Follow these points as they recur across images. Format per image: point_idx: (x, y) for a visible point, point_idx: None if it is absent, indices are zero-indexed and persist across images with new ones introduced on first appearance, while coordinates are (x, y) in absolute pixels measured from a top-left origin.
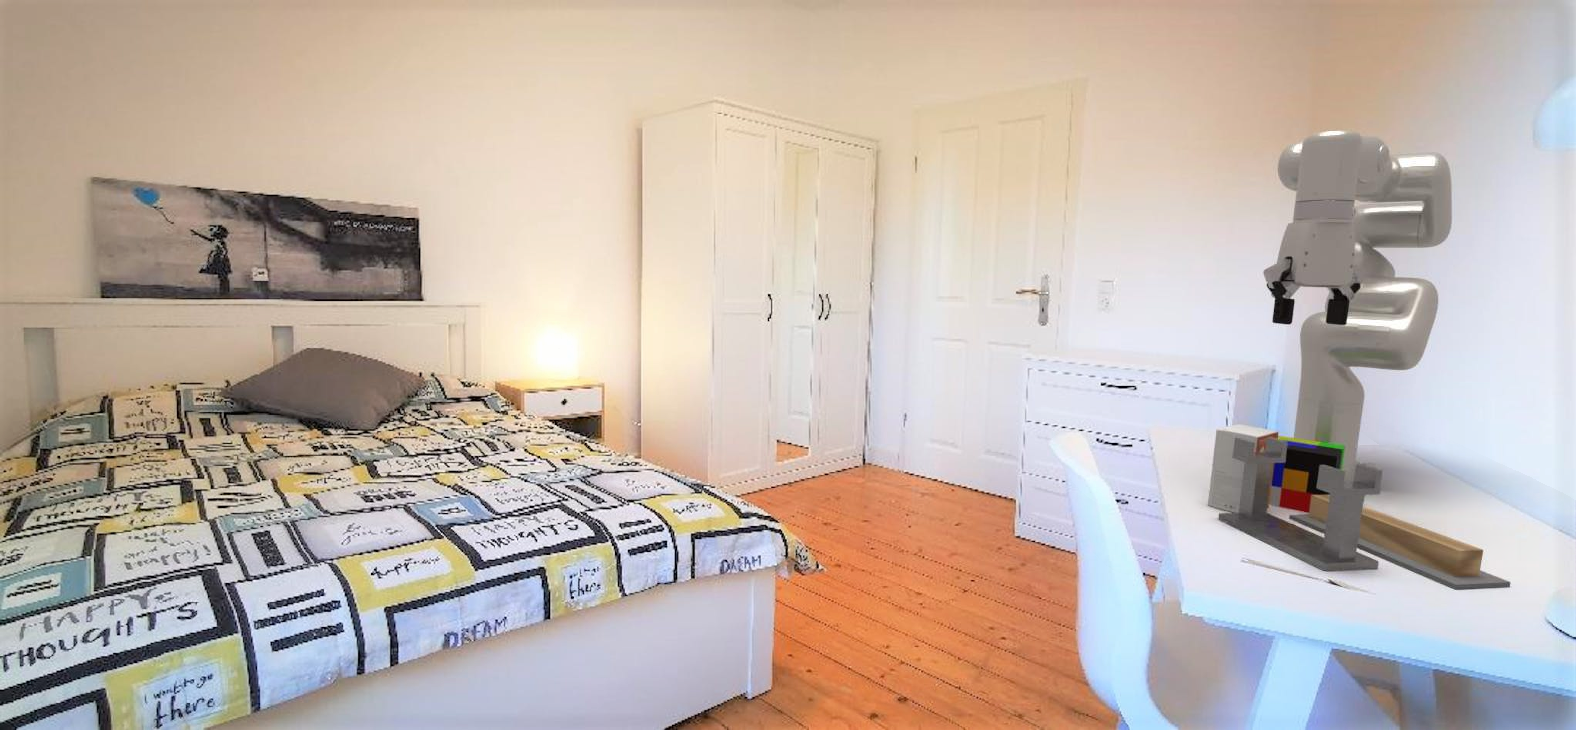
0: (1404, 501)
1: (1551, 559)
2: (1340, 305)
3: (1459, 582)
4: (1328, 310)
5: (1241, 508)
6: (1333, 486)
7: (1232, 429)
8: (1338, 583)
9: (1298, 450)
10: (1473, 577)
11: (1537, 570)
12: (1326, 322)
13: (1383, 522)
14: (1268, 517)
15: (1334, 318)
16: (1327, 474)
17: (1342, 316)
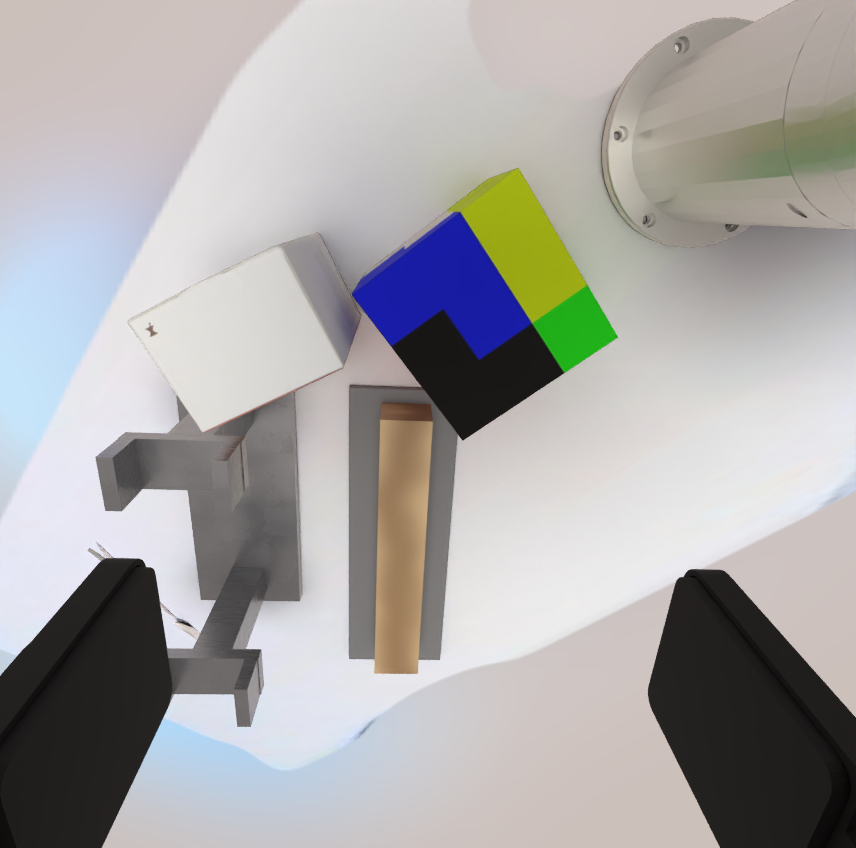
0: (744, 316)
1: (630, 592)
2: (740, 837)
3: (362, 654)
4: (738, 673)
5: None
6: None
7: (181, 336)
8: (185, 631)
9: (410, 370)
10: None
11: (552, 619)
12: (678, 579)
13: (377, 567)
14: (271, 411)
15: (684, 672)
16: None
17: (678, 753)
